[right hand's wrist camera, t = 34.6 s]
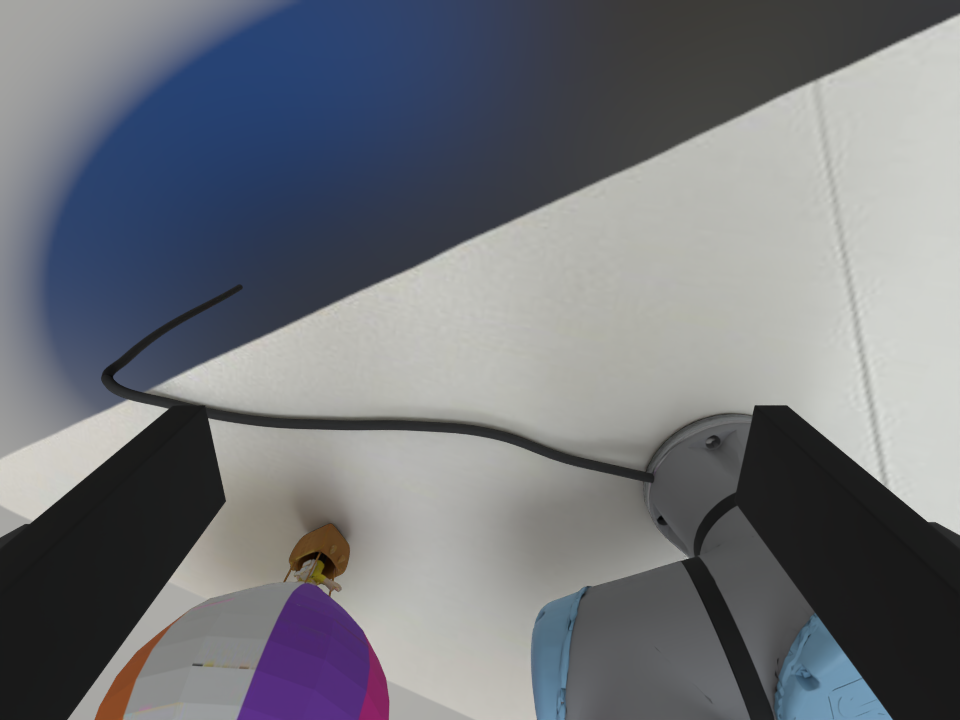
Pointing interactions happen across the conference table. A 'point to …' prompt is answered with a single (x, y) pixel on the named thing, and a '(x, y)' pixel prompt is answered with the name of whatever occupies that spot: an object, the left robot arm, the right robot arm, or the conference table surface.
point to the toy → (260, 654)
